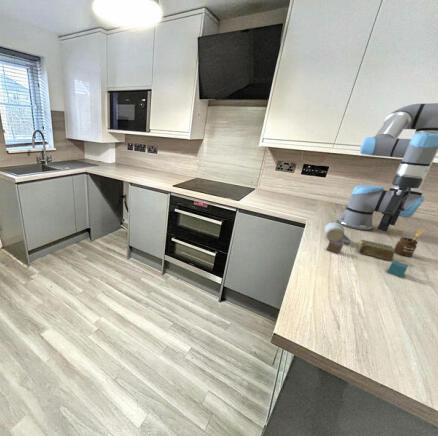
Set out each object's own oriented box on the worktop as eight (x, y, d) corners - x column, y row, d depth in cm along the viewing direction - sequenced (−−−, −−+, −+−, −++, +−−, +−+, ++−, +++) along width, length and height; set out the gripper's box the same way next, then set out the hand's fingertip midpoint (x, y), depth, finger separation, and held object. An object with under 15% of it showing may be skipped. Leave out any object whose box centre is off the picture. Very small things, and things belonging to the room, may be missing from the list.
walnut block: (329, 247, 106) (332, 239, 105) (340, 251, 103) (343, 243, 102) (326, 250, 104) (329, 241, 103) (337, 253, 101) (340, 245, 100)
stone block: (355, 248, 107) (359, 238, 105) (389, 256, 101) (394, 246, 100) (357, 253, 103) (361, 243, 101) (392, 262, 97) (398, 251, 95)
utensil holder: (389, 250, 107) (400, 225, 103) (403, 250, 107) (415, 226, 103) (401, 256, 102) (414, 231, 98) (416, 257, 102) (429, 232, 97)
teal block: (389, 269, 91) (393, 260, 90) (403, 274, 88) (408, 265, 87) (386, 272, 89) (391, 263, 88) (401, 277, 86) (406, 268, 85)
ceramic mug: (323, 239, 114) (328, 225, 111) (322, 234, 120) (327, 220, 118) (350, 246, 109) (357, 231, 106) (348, 240, 115) (354, 226, 112)
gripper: (417, 180, 80) (391, 236, 87) (428, 176, 94) (404, 225, 101) (388, 176, 85) (365, 229, 93) (402, 172, 99) (381, 219, 107)
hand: (385, 227), depth 97 cm, fingers open, 13 cm apart
